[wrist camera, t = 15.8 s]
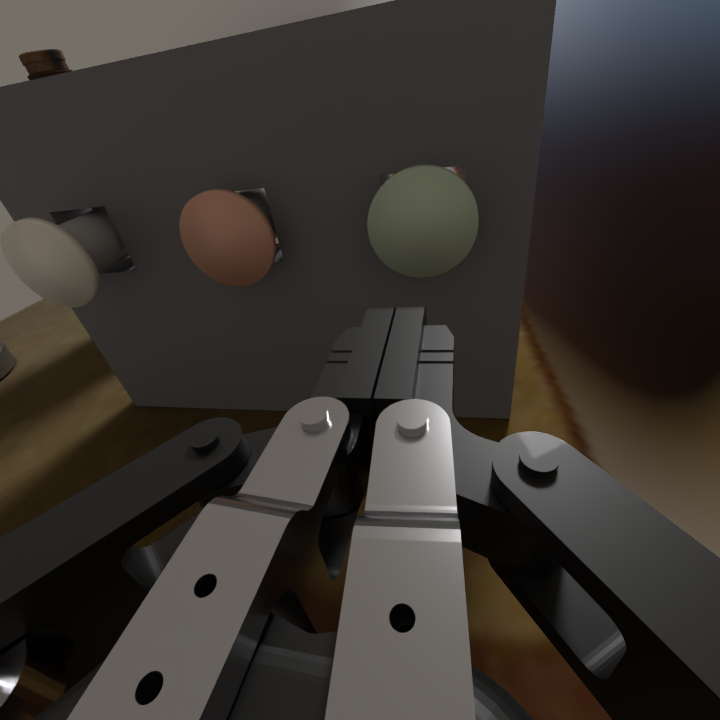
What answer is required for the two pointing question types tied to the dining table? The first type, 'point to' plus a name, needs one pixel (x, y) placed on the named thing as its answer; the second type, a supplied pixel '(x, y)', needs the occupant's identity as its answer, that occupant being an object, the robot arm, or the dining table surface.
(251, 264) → the button terracotta
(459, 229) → the button sage
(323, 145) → the control panel
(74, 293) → the button cream
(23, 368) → the dining table surface
